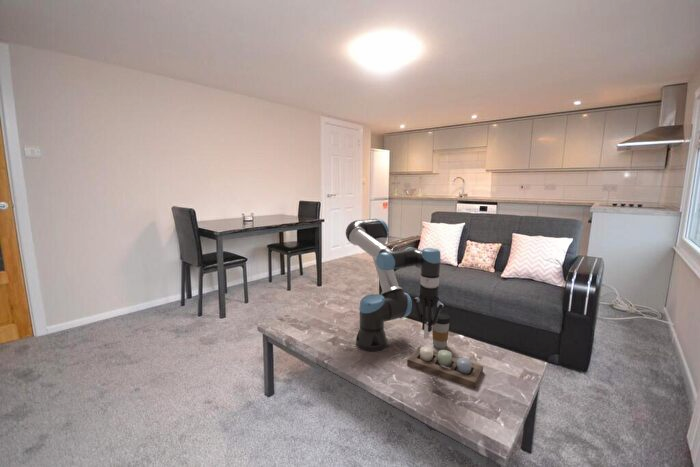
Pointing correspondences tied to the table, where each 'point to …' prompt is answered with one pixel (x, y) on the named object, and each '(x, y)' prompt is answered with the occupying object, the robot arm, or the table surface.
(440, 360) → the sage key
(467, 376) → the wooden tray
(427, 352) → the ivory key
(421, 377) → the table surface
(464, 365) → the pale blue rounded knob
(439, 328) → the coffee cup
